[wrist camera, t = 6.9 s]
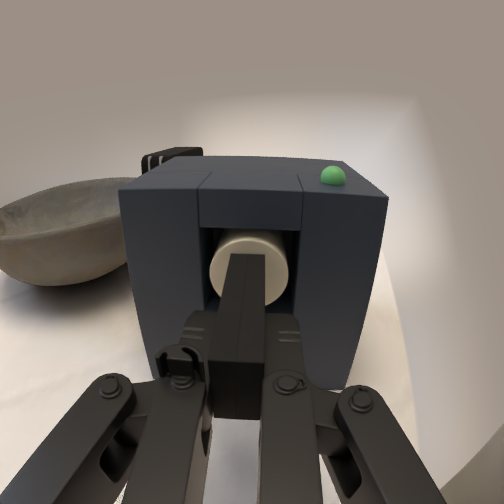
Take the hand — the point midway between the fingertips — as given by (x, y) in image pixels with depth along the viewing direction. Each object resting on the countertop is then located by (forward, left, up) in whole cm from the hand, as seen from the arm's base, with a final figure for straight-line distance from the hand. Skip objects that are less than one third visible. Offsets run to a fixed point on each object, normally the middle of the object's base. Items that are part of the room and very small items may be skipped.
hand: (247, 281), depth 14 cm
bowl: (+21, +12, -8) cm, 25 cm away
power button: (+2, -1, -2) cm, 3 cm away
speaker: (+5, -2, -8) cm, 9 cm away
